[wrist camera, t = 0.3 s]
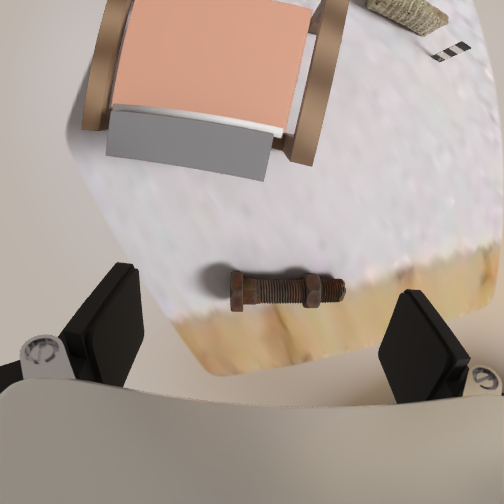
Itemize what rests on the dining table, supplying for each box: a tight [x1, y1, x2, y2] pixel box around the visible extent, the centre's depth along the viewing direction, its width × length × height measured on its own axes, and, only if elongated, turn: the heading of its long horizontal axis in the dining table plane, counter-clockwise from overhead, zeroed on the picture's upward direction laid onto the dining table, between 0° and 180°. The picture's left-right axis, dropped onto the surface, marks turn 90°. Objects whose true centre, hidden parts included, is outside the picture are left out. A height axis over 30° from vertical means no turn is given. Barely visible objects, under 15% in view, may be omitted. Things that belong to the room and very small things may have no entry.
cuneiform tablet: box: [366, 0, 471, 62], centre depth 26 cm, size 7×4×12 cm
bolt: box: [230, 272, 346, 312], centre depth 42 cm, size 6×5×15 cm
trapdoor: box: [106, 0, 313, 182], centre depth 25 cm, size 16×16×5 cm
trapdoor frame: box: [82, 0, 349, 166], centre depth 28 cm, size 17×22×10 cm
